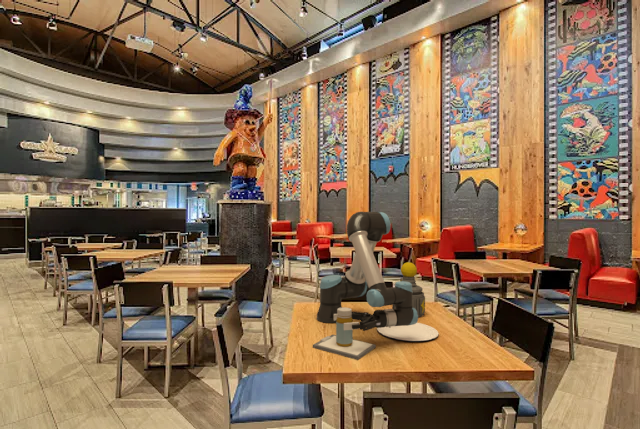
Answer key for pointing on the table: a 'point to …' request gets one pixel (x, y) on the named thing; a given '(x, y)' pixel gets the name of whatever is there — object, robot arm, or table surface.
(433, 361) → the table surface
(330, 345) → the clipboard
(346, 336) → the bottle
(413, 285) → the decorative lamp
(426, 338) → the plate
